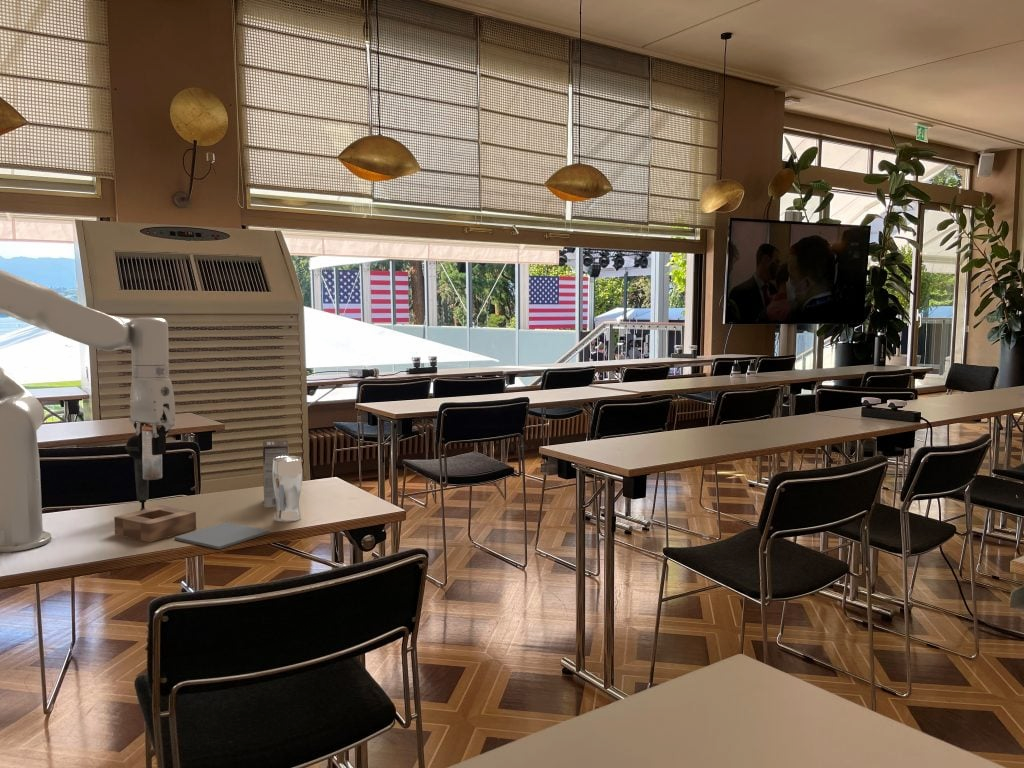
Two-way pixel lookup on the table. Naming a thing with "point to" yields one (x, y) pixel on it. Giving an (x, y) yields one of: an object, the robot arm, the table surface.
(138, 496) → the microphone
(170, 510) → the eye block
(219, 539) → the slate mat
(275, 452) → the coffee box
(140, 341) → the robot arm
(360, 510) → the table surface
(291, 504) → the beer glass
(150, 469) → the steel peg
